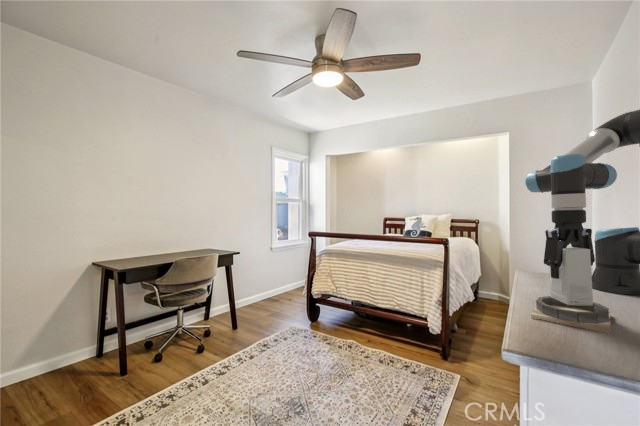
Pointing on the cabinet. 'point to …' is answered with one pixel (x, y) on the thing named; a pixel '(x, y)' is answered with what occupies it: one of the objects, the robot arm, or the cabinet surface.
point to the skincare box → (575, 278)
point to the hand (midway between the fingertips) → (570, 288)
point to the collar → (573, 314)
